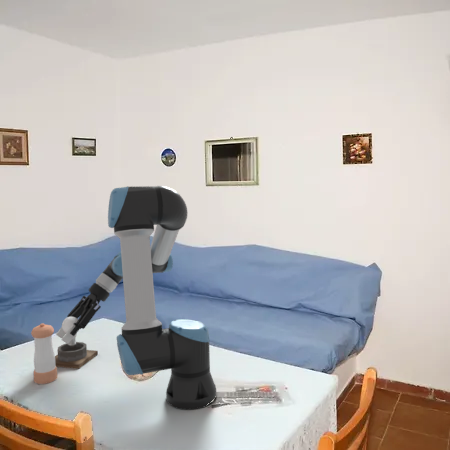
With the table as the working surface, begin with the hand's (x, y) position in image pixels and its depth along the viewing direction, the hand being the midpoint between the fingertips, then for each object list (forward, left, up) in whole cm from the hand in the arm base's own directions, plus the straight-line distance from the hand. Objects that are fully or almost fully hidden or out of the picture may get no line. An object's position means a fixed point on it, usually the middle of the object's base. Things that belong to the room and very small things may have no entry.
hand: (61, 339), depth 165 cm
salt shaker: (-13, -2, -9) cm, 16 cm away
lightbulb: (+3, -2, -4) cm, 5 cm away
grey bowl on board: (+3, -2, -9) cm, 9 cm away
